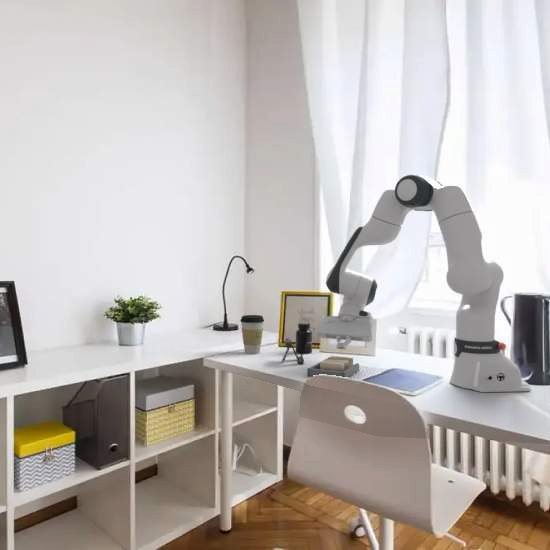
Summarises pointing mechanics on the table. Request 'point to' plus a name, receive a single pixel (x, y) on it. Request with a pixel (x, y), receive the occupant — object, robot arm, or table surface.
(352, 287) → the robot arm
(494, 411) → the table surface
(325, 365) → the green tan block
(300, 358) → the portable electronic device stand
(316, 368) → the tray
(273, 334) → the table surface
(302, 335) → the supplement bottle
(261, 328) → the coffee cup
